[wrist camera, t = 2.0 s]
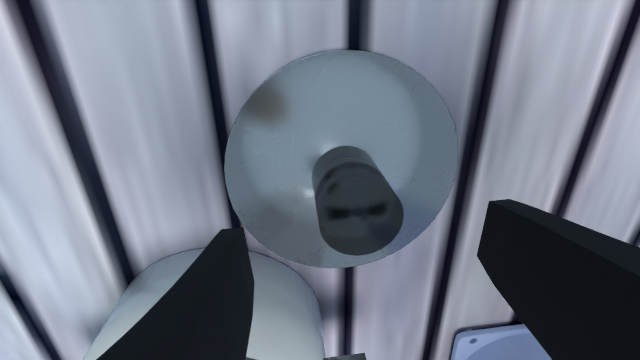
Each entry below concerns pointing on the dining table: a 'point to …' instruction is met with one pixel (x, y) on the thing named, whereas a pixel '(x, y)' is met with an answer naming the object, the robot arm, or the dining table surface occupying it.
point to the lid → (341, 158)
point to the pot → (268, 309)
